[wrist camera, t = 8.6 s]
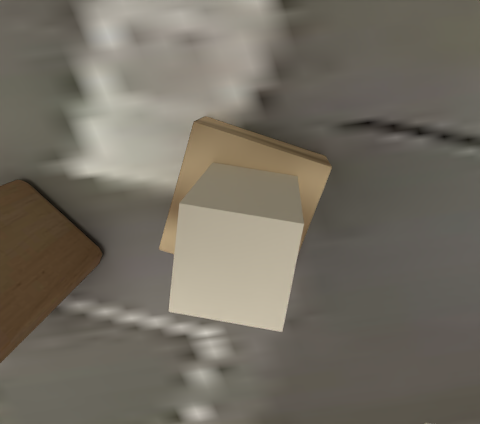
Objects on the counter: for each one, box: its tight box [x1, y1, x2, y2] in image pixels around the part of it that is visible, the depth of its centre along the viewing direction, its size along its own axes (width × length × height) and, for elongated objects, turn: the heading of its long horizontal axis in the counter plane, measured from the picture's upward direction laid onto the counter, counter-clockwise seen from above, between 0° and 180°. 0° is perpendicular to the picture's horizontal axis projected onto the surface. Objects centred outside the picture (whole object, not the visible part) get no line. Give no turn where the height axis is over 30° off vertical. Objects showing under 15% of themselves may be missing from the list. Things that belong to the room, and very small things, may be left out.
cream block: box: [169, 163, 304, 332], centre depth 26 cm, size 6×6×10 cm
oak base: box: [159, 116, 332, 254], centre depth 33 cm, size 10×10×5 cm
